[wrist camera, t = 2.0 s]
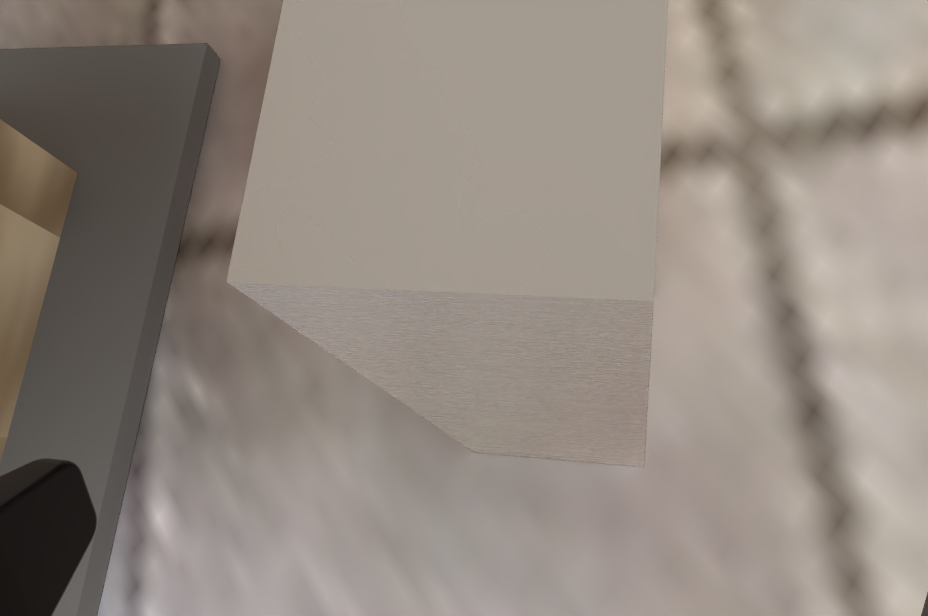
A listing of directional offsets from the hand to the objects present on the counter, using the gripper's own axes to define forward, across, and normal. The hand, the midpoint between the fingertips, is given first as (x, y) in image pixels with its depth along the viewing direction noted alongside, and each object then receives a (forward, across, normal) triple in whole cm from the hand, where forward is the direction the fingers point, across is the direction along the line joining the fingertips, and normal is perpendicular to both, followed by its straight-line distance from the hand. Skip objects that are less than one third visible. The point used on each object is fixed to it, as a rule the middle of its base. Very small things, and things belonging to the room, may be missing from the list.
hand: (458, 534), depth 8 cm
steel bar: (+10, 0, +5) cm, 11 cm away
